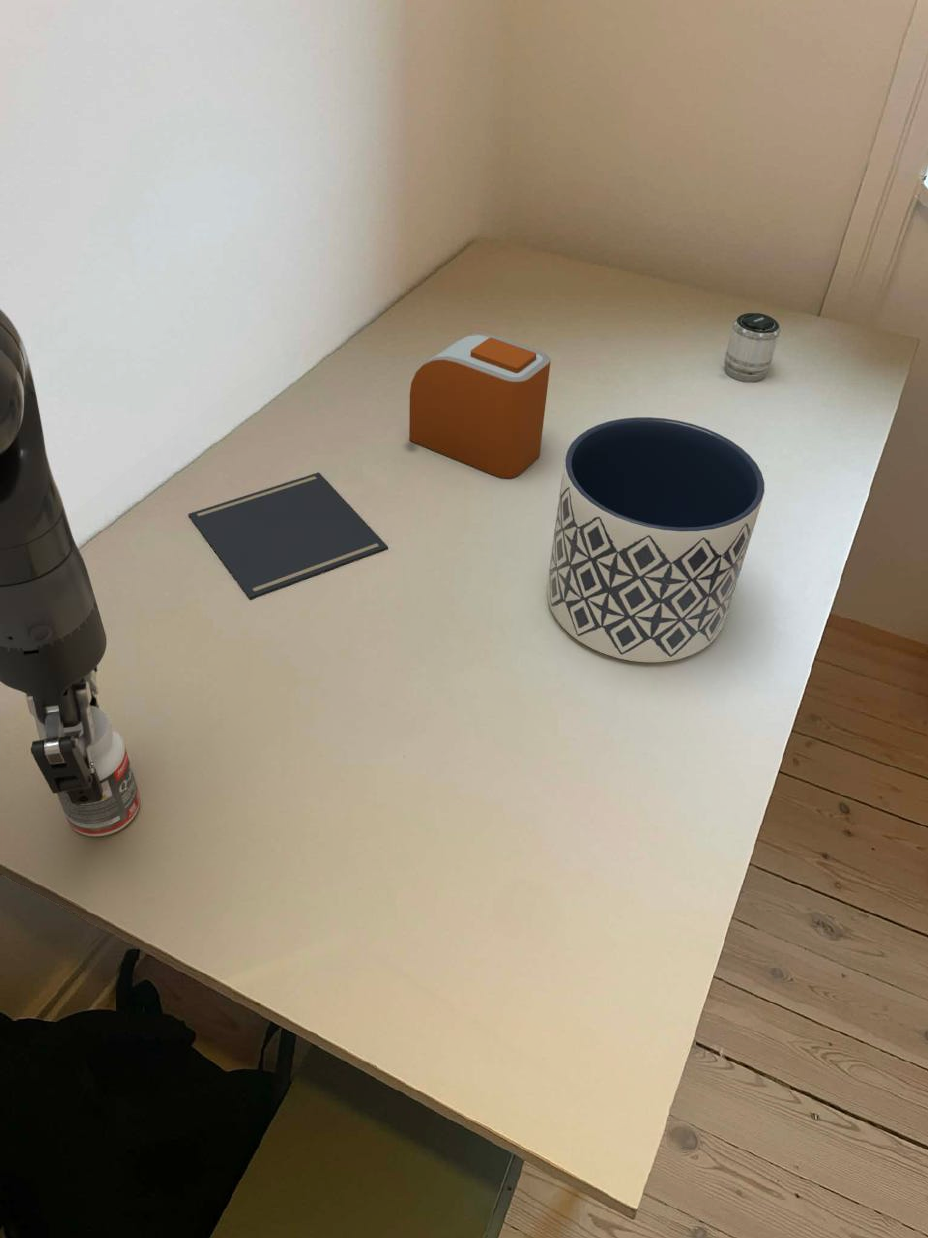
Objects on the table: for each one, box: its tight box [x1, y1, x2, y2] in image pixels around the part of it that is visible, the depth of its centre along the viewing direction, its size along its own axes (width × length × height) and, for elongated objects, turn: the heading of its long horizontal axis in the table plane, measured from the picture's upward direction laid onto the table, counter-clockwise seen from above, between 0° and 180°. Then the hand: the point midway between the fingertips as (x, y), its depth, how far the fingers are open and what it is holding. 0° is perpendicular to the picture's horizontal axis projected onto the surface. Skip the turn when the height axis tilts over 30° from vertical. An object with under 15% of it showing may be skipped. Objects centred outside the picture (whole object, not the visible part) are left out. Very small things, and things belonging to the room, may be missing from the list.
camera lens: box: [724, 312, 781, 383], centre depth 133 cm, size 6×6×8 cm
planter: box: [546, 416, 766, 663], centre depth 93 cm, size 18×18×16 cm
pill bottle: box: [56, 705, 141, 837], centre depth 75 cm, size 6×6×10 cm
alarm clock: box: [408, 332, 552, 479], centre depth 114 cm, size 15×8×14 cm, turn 57°
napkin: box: [187, 472, 389, 600], centre depth 105 cm, size 16×16×1 cm
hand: (89, 766), depth 74 cm, fingers closed on pill bottle, 5 cm apart
